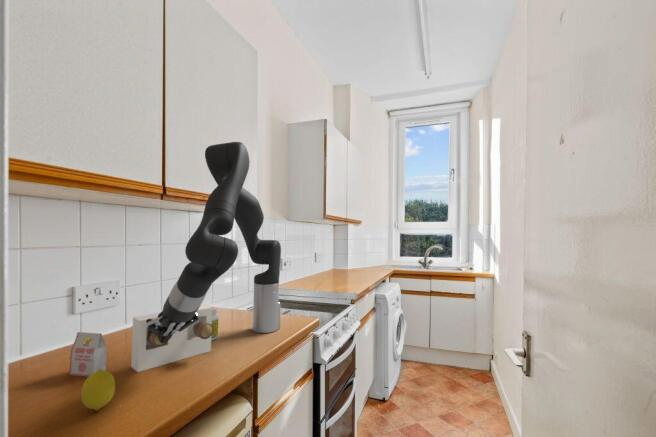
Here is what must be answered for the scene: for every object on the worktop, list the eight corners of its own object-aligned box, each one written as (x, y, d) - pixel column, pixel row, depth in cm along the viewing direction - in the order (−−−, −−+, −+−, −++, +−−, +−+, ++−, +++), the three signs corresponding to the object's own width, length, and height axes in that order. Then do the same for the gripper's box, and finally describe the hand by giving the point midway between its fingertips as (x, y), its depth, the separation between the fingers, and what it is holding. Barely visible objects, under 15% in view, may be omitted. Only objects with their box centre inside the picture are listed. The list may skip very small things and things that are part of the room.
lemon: (117, 409, 64) (119, 369, 64) (83, 421, 60) (85, 378, 60) (110, 399, 67) (111, 361, 68) (77, 410, 63) (79, 369, 64)
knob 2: (203, 332, 95) (203, 318, 95) (213, 337, 91) (214, 321, 91) (189, 336, 91) (189, 320, 92) (199, 341, 87) (199, 325, 88)
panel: (202, 346, 99) (204, 304, 100) (210, 350, 96) (212, 307, 96) (131, 366, 84) (133, 317, 85) (137, 372, 81) (139, 320, 81)
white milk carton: (83, 368, 83) (84, 329, 83) (105, 370, 82) (107, 331, 82) (69, 374, 79) (71, 334, 79) (93, 377, 78) (94, 336, 78)
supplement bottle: (212, 341, 104) (213, 311, 104) (197, 340, 105) (198, 310, 106) (220, 336, 109) (221, 308, 110) (206, 335, 110) (207, 307, 111)
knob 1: (160, 339, 88) (161, 323, 89) (169, 344, 84) (170, 328, 85) (143, 343, 85) (144, 327, 85) (152, 349, 81) (152, 331, 81)
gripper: (206, 282, 82) (183, 322, 90) (152, 289, 72) (131, 333, 79) (217, 306, 79) (192, 345, 86) (161, 316, 69) (138, 360, 76)
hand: (162, 339), depth 83 cm, fingers closed
